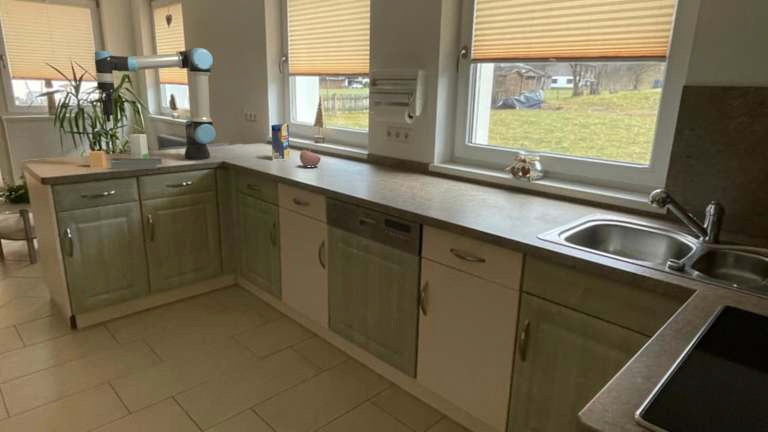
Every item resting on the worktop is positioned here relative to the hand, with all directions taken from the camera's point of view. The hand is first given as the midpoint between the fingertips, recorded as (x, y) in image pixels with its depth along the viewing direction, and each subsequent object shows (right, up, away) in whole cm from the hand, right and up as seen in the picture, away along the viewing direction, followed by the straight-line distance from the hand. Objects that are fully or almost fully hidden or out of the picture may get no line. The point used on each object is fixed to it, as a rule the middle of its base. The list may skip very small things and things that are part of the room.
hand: (110, 127), depth 256 cm
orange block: (-8, -20, +4) cm, 22 cm away
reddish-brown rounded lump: (+103, -19, +25) cm, 108 cm away
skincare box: (+3, -15, +25) cm, 30 cm away
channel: (+11, -20, +8) cm, 24 cm away
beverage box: (+81, -12, +48) cm, 95 cm away
